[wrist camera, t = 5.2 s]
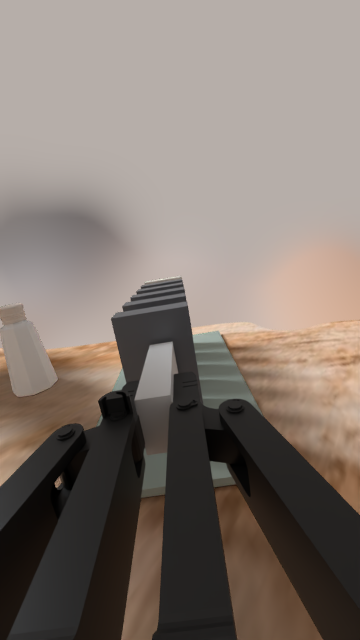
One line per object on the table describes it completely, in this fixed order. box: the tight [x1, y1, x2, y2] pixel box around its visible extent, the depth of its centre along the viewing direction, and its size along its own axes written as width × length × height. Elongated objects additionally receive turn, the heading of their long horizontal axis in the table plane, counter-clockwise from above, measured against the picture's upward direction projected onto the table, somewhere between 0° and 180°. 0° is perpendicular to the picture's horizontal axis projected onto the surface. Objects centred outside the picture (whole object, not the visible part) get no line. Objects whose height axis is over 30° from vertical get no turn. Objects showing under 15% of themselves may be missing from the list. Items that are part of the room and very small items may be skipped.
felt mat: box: [96, 331, 264, 498], centre depth 30 cm, size 28×14×1 cm, turn 1°
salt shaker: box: [0, 303, 58, 397], centre depth 34 cm, size 5×5×11 cm
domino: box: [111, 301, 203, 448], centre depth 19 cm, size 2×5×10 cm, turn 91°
